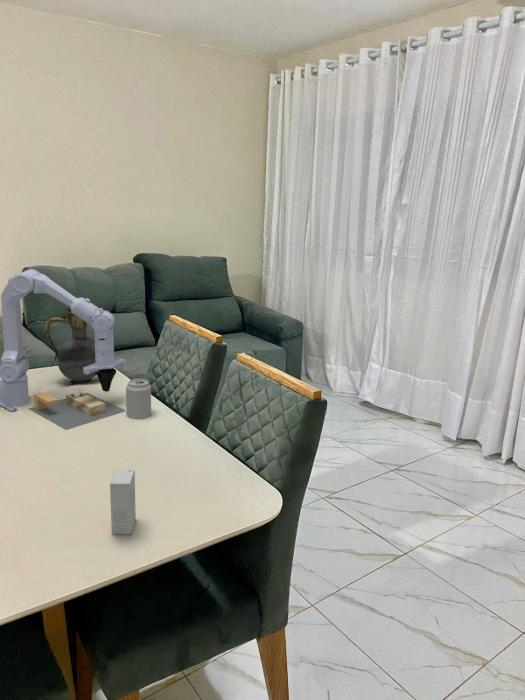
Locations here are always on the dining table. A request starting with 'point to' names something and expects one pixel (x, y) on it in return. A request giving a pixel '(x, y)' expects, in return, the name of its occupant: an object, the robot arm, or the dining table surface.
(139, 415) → the can
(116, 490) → the skincare box
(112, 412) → the slate board
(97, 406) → the oak link
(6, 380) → the robot arm
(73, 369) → the pitcher
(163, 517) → the dining table surface
